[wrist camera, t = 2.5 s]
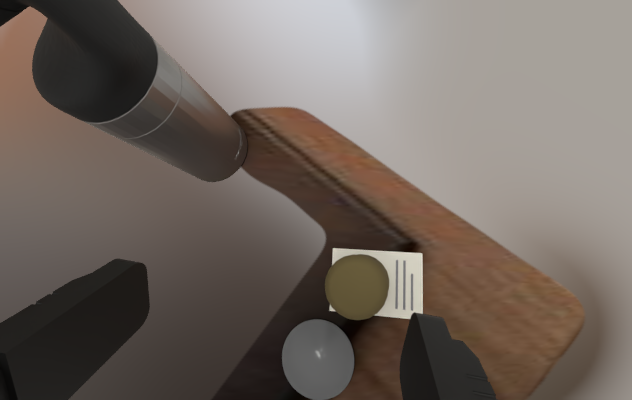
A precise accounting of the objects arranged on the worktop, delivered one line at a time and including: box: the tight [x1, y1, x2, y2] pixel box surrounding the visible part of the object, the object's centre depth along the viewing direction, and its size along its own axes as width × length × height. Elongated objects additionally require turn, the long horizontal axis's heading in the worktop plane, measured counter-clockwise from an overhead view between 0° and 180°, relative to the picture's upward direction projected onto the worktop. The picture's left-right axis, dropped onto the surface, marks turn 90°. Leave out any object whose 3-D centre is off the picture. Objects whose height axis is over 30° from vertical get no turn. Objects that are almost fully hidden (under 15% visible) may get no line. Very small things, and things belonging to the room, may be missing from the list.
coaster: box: [282, 319, 355, 400], centre depth 33 cm, size 8×8×1 cm
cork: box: [325, 254, 389, 320], centre depth 28 cm, size 6×6×11 cm
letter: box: [330, 248, 423, 319], centre depth 33 cm, size 10×7×1 cm
